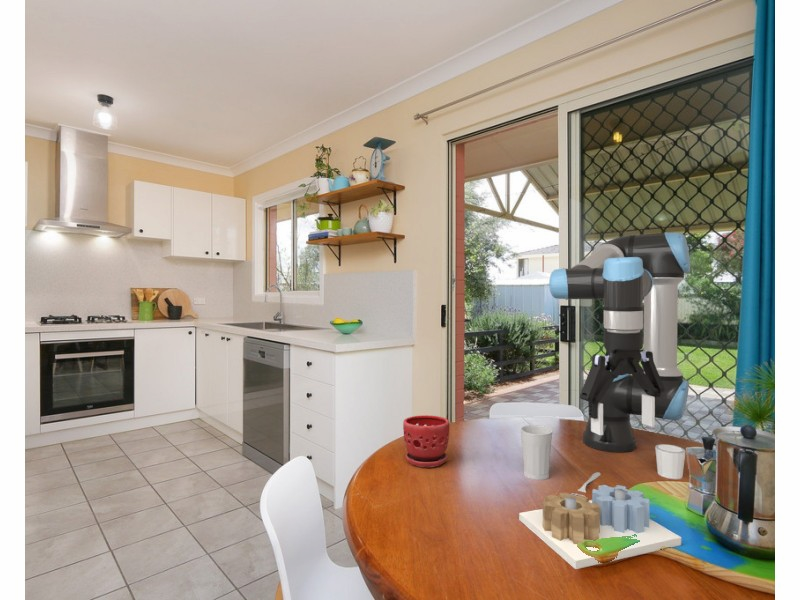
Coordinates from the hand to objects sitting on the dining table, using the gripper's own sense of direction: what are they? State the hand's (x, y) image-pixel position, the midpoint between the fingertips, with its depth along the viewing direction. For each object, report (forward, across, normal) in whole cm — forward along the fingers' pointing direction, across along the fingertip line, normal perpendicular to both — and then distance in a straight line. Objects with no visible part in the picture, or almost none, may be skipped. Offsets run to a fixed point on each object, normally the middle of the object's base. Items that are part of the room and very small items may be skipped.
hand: (623, 429), depth 99 cm
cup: (+19, +5, -24) cm, 31 cm away
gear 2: (+17, +4, +4) cm, 18 cm away
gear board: (+18, +10, +4) cm, 22 cm away
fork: (+20, -3, -15) cm, 25 cm away
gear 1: (+17, +16, +4) cm, 24 cm away
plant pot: (+19, +29, -42) cm, 55 cm away
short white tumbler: (+20, -28, -13) cm, 36 cm away
